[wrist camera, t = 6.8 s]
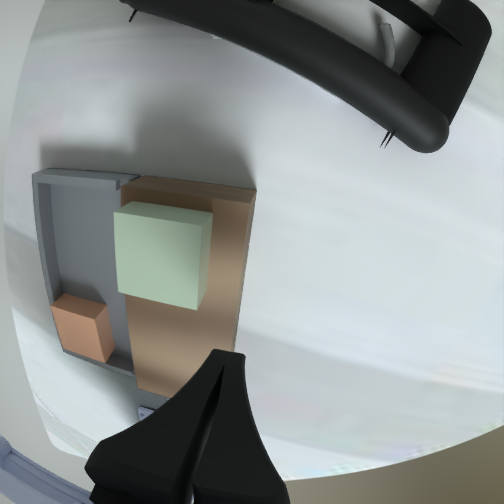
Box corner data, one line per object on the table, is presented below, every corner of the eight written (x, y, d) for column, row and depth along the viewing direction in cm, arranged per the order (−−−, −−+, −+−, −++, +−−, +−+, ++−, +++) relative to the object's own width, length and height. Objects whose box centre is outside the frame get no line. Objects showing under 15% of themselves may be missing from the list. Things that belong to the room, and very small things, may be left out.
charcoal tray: (147, 363, 25) (139, 379, 23) (73, 339, 25) (63, 351, 23) (140, 175, 18) (124, 181, 16) (49, 168, 18) (31, 173, 17)
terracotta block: (63, 348, 22) (74, 334, 24) (104, 363, 22) (115, 348, 24) (50, 305, 20) (64, 293, 22) (94, 319, 20) (107, 305, 22)
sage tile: (206, 290, 17) (196, 310, 15) (133, 274, 17) (118, 292, 16) (213, 212, 15) (202, 225, 13) (132, 201, 16) (113, 212, 14)
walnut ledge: (229, 383, 24) (222, 410, 21) (150, 364, 25) (137, 388, 22) (256, 190, 18) (250, 203, 15) (144, 175, 18) (120, 185, 15)
